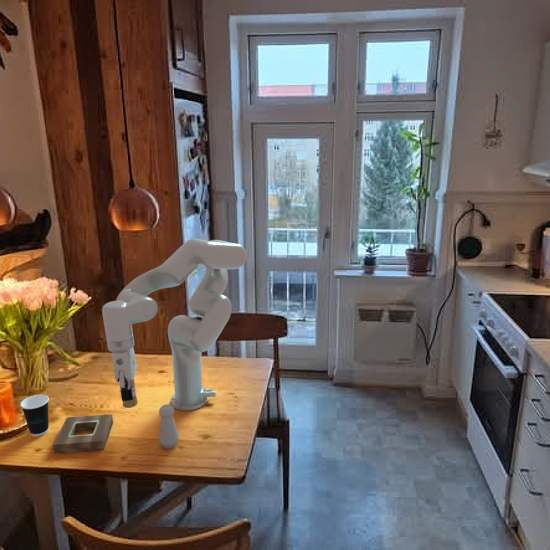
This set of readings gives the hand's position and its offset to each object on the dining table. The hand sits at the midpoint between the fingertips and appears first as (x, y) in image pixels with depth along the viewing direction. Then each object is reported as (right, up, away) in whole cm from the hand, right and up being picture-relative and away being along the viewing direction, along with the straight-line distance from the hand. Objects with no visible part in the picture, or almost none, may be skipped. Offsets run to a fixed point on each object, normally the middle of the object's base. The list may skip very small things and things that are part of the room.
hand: (128, 394), depth 147 cm
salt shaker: (+13, -14, -3) cm, 20 cm away
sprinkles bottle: (0, -3, +1) cm, 4 cm away
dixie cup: (-29, -13, +3) cm, 32 cm away
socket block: (-13, -13, 0) cm, 19 cm away
